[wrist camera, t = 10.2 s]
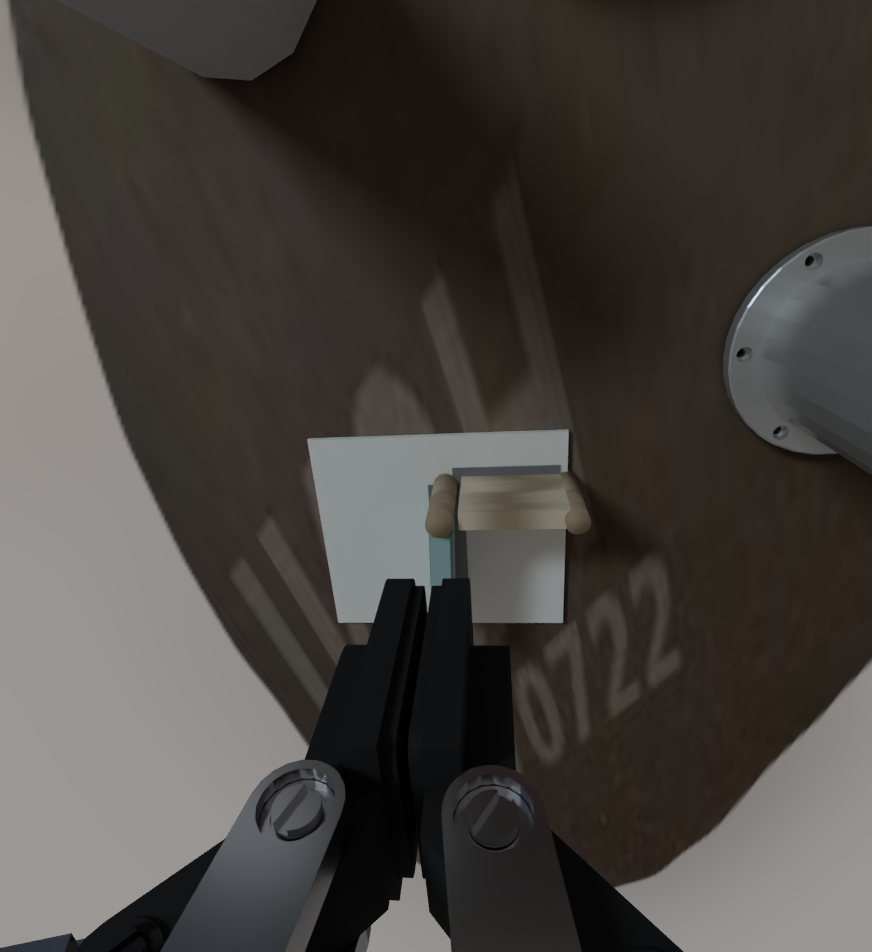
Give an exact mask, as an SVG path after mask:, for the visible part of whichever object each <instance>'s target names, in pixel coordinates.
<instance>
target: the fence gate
mask: <svg viewBox="0 0 872 952" xmlns="http://www.w3.org/2000/svg"><path fill="white" fill-rule="evenodd" d="M429 556H430V584H431V589H432V586H441V585H442V579H443V578H455V511H454V520H453V528H452V531H451V533H450V534H449V535H448V536H446V537H443V538H436V537H433V536H431V535H430V534H429Z"/></svg>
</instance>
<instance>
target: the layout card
mask: <svg viewBox="0 0 872 952" xmlns="http://www.w3.org/2000/svg"><path fill="white" fill-rule="evenodd" d="M568 440H569V430H568V429H564V430H535V431H506V432H478V433H449V434H420V435H392V436H363V437H334V438H308V440H307V441H308V447H309V453H310V459H311V465H312V471H313V477H314V482H315V488H316V494H317V500H318V506H319V512H320V518H321V523H322V529H323V535H324V541H325V547H326V553H327V559H328V564H329V570H330V576H331V582H332V588H333V594H334V600H335V605H336V611H337V617H338V623H374V619H375V616H376V612H377V609H378V605H379V602H380V599H381V595H382V592H383V588H384V585H385V582H386V580H387V579H414V580H415V584H416V586H425V592H426V602H427V613H428V608H429V601H430V595H431V584H430V556H429V534H428V532H427V531H426V529H425V522H426V517H427V512H428V508H429V503H430V498H431V494H432V489H433V484H434V480H435V479H436V477H437V476H439V475H441V474H450V475H452V476H453V477H454V478H455V479H456V481H457V485H458V486H457V495H456V503H455V578H470V586H471V606H472V623H563V604H564V571H565V538H566V529H517V530H459V526H458V505H459V496H460V486H461V477H462V476H499V475H536V474H560V473H562V472H568Z"/></svg>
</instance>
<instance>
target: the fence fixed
mask: <svg viewBox="0 0 872 952" xmlns="http://www.w3.org/2000/svg"><path fill="white" fill-rule="evenodd" d="M457 486H458V485H457V481H456V479H455V478H454V477H453V476H452V475H450V474H441V475H439V476H437V477H436V479H435V480H434V484H433V489H432V494H431V498H430V503H429V508H428V512H427V517H426V522H425V529H426V531H427V532H428V534H430V535H431V536H433V537H436V538H443V537H446V536H448V535H449V534H450V533H451V531H452V528H453V520H454V511H455V503H456V495H457ZM458 526H459V530H517V529H568V531H569V532H571V533H573V534H583V533H585V532H587V531H588V530H589V528H590V527H591V519H590V516H589V513H588V511H587V508H586V505H585V502H584V499H583V496H582V494H581V491H580V488H579V485H578V482H577V479H576V476H575V474H574V473H573V472H572V471H570V470H568V472H562V473H560V474H536V475H499V476H462V477H461V486H460V496H459V505H458Z"/></svg>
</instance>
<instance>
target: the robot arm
mask: <svg viewBox="0 0 872 952" xmlns="http://www.w3.org/2000/svg"><path fill="white" fill-rule="evenodd" d="M808 256H809V262H808V264H807V265H805V261H806V258H807V257H808ZM741 348H742V353H741V354H740V355H739V356H736V355H737V352H738V351H739V350H740V349H741ZM723 378H724V383H725V387H726V392H727V396H728V398H729V400H730V402H731V404H732V406H733V408H734V410H735V412H736V413H737V415H738V416H739V417H740V418H741V419H742V421H743V422H744V423H745V424H746V425H747V426H748V427H749V428H750V429H752V430H753V431H754V432H755V433H756V434H758V435H759V436H760V437H762V438H763V439H765V440H766V441H768V442H769V443H771V444H773V445H775V446H778V447H781V448H784V449H787V450H789V451H792V452H798V453H805V454H812V455H821V454H840V455H841V456H843V457H844V458H846V459H847V460H849V461H850V462H852V463H854V464H855V465H857V466H858V467H860V468H861V469H863V470H864V471H866V472H867V473H869V474H871V475H872V226H863V227H853V228H849V229H845V230H841V231H837V232H833V233H829V234H827V235H825V236H823V237H820V238H818V239H816V240H813V241H811V242H809V243H807V244H805V245H803V246H802V247H800V248H798V249H797V250H795V251H794V252H792V253H791V254H789V255H788V256H786V257H784V258H783V259H782V260H781V261H780V262H778V263H777V264H776V265H775V266H774V267H773V268H772V269H771V270H769V271H768V272H767V273H766V274H765V275H764V276H763V277H762V278H761V279H760V281H759V282H758V283H757V284H756V285H755V287H754V288H753V289H752V290H751V291H750V293H749V294H748V295H747V297H746V298H745V300H744V302H743V303H742V305H741V307H740V308H739V310H738V312H737V313H736V315H735V317H734V320H733V323H732V325H731V328H730V330H729V333H728V335H727V339H726V345H725V350H724V355H723ZM777 427H778V428H777ZM776 428H777V430H775V429H776ZM774 430H775V431H774ZM418 844H419V852H420V860H421V868H422V876H423V878H424V879H426V886H427V895H428V903H429V911H430V913H431V914H432V916H433V917H434V918H435V919H436V921H437V922H438V924H439V925H440V926H441V928H442V929H443V930H444V931H445V933H446V934H447V935H448V937H449V938H450V939H451V950H452V952H683V951H682V950H681V949H680V948H679V947H678V946H677V945H675V944H674V943H673V942H672V941H671V940H670V939H669V938H668V937H667V936H666V935H664V933H662V932H661V931H660V930H659V929H658V928H657V927H656V926H655V925H654V924H653V923H652V922H650V921H649V920H648V919H647V918H646V917H645V916H644V915H643V914H642V913H641V912H640V911H638V910H637V909H636V908H635V907H634V906H633V905H632V904H631V903H630V902H629V901H627V899H625V898H624V897H623V896H622V895H621V894H620V893H619V892H618V891H617V890H616V889H615V888H613V887H612V886H611V885H610V884H609V883H608V882H607V881H606V880H605V879H604V878H603V877H602V876H600V875H599V874H598V873H597V872H596V871H595V870H594V869H593V868H592V867H591V866H590V865H588V864H587V863H586V862H585V861H584V860H583V859H582V858H581V857H580V856H579V855H578V854H576V853H575V852H574V851H573V850H572V849H571V848H570V847H569V846H568V845H567V844H566V843H565V842H563V841H562V840H561V839H560V838H559V837H558V836H557V835H556V834H555V833H554V832H553V831H551V829H550V825H549V821H548V818H547V814H546V810H545V806H544V803H543V801H542V798H541V796H540V794H539V791H538V790H537V789H536V787H535V786H534V785H533V784H532V783H531V782H530V780H529V779H528V778H526V777H525V776H523V775H522V774H520V773H519V772H517V771H516V764H515V745H514V725H513V705H512V685H511V665H510V647H509V646H474V645H473V625H472V606H471V586H470V578H443V579H442V585H441V586H432V589H431V595H430V601H429V608H428V613H427V602H426V592H425V586H416V584H415V580H414V579H387V580H386V582H385V585H384V588H383V592H382V595H381V599H380V602H379V605H378V609H377V612H376V616H375V619H374V623H373V626H372V629H371V633H370V636H369V640H368V643H367V645H346V646H345V647H344V649H343V651H342V653H341V656H340V659H339V662H338V665H337V668H336V670H335V673H334V676H333V679H332V682H331V685H330V688H329V691H328V694H327V697H326V699H325V702H324V705H323V708H322V711H321V714H320V717H319V720H318V723H317V725H316V728H315V731H314V734H313V737H312V740H311V743H310V746H309V749H308V751H307V754H306V757H305V760H300V761H296V762H292V763H288V764H286V765H284V766H282V767H280V768H278V769H276V770H274V771H273V772H272V773H270V774H269V775H268V776H267V777H266V778H264V779H263V780H262V781H261V782H260V783H259V785H258V786H257V787H256V789H255V790H254V791H253V792H252V794H251V795H250V797H249V799H248V801H247V802H246V804H245V806H244V808H243V809H242V811H241V813H240V814H239V816H238V818H237V820H236V821H235V823H234V825H233V827H232V828H231V830H230V832H229V833H228V835H227V837H226V838H225V839H224V840H223V841H221V842H220V843H218V844H217V845H215V846H214V847H212V848H211V849H210V850H208V851H207V852H205V853H204V854H203V855H201V856H199V858H197V859H195V860H194V861H192V862H191V863H189V864H188V865H186V866H185V867H184V868H182V869H181V870H179V871H178V872H176V873H175V874H174V875H172V876H171V877H169V878H168V879H166V880H165V881H164V882H162V883H160V884H159V885H158V886H156V887H155V888H153V889H152V890H150V891H149V892H148V893H146V894H145V895H143V896H142V897H140V898H139V899H137V900H136V901H134V902H133V903H132V904H130V905H129V906H127V907H126V908H125V909H123V910H121V911H120V912H119V913H117V914H116V915H114V916H113V917H111V918H110V919H108V920H107V921H106V922H104V923H103V924H102V925H101V926H99V927H98V928H97V929H96V930H95V931H93V932H92V933H91V934H90V935H89V936H87V937H86V938H85V939H81V940H75V938H74V937H73V935H72V933H71V934H66V935H61V936H56V937H52V938H47V939H42V940H37V941H32V942H27V943H23V944H18V945H13V946H8V947H4V948H0V952H366V950H367V947H368V943H369V937H370V930H371V925H372V924H373V923H374V922H375V921H376V920H377V919H378V918H379V917H380V916H382V915H383V914H384V913H385V912H386V911H387V910H388V906H389V900H400V893H401V886H402V878H403V877H405V878H413V877H414V873H415V865H416V857H417V849H418Z"/></svg>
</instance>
